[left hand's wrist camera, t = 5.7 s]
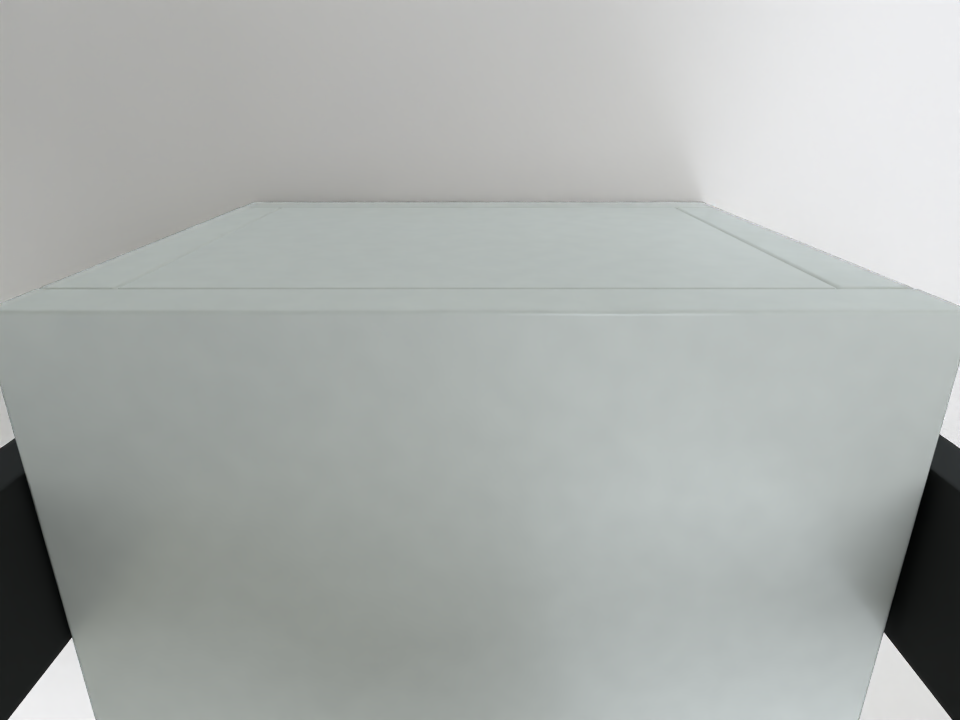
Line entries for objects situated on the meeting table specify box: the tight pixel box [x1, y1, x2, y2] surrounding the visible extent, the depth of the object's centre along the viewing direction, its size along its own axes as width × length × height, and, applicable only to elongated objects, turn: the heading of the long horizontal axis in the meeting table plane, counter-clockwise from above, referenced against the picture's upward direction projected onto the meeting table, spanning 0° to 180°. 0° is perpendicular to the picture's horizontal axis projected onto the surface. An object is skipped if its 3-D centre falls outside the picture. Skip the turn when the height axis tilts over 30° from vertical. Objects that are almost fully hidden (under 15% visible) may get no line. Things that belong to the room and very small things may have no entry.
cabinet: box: [0, 202, 960, 720], centre depth 16 cm, size 22×12×10 cm, turn 0°
